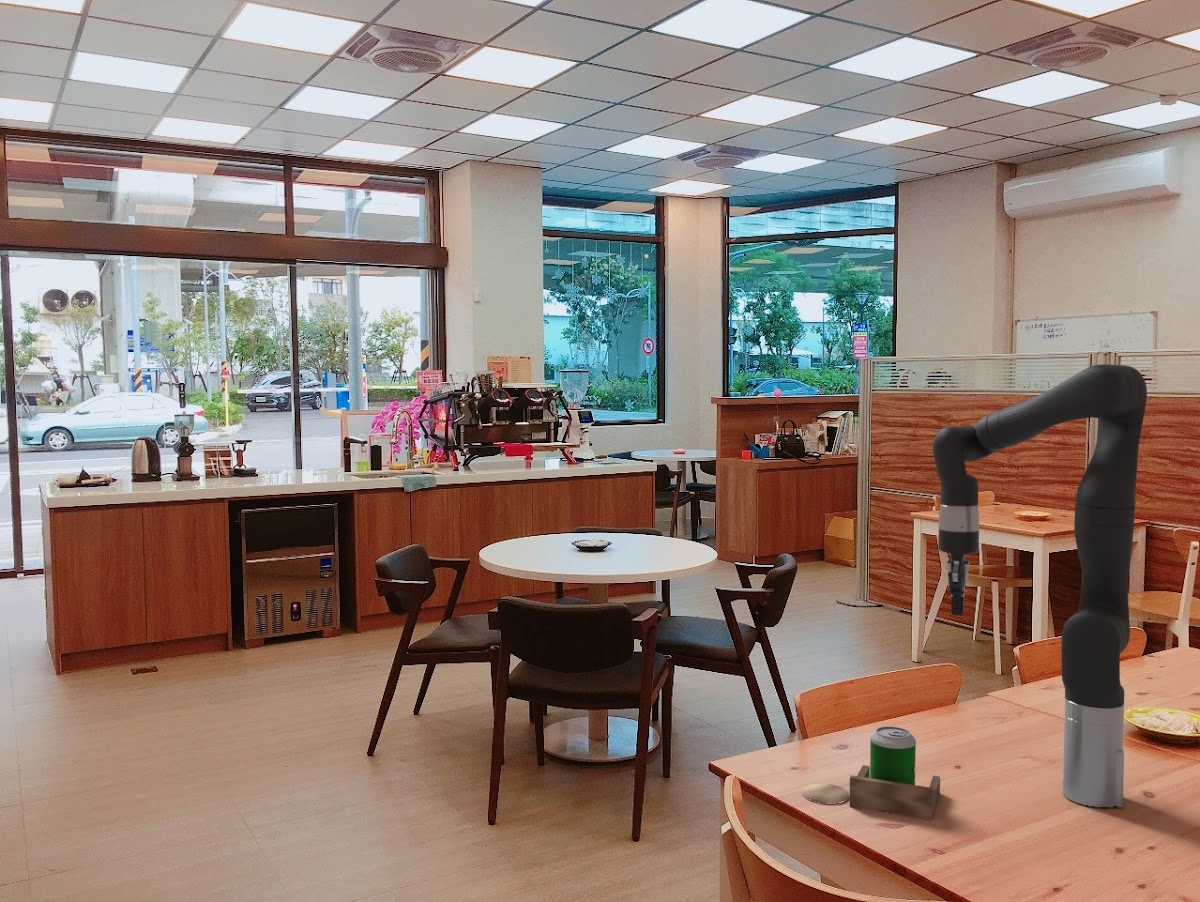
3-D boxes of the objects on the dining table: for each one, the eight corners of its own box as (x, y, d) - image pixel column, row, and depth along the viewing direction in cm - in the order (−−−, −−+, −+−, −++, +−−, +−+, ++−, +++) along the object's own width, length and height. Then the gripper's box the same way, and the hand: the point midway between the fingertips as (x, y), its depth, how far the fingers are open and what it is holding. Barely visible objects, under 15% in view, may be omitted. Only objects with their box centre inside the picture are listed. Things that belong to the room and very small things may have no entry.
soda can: (915, 810, 168) (916, 740, 167) (869, 805, 170) (870, 736, 169) (914, 793, 175) (915, 726, 174) (870, 789, 177) (870, 723, 176)
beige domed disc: (852, 790, 176) (852, 787, 176) (843, 807, 169) (843, 804, 169) (808, 783, 180) (808, 780, 180) (797, 799, 172) (797, 796, 172)
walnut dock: (939, 793, 175) (940, 765, 175) (931, 820, 164) (931, 790, 164) (862, 781, 181) (863, 754, 180) (849, 806, 169) (849, 777, 169)
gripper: (976, 532, 188) (975, 623, 188) (981, 524, 200) (980, 610, 200) (934, 530, 191) (933, 619, 192) (942, 522, 203) (941, 606, 204)
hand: (957, 614), depth 196 cm, fingers closed
